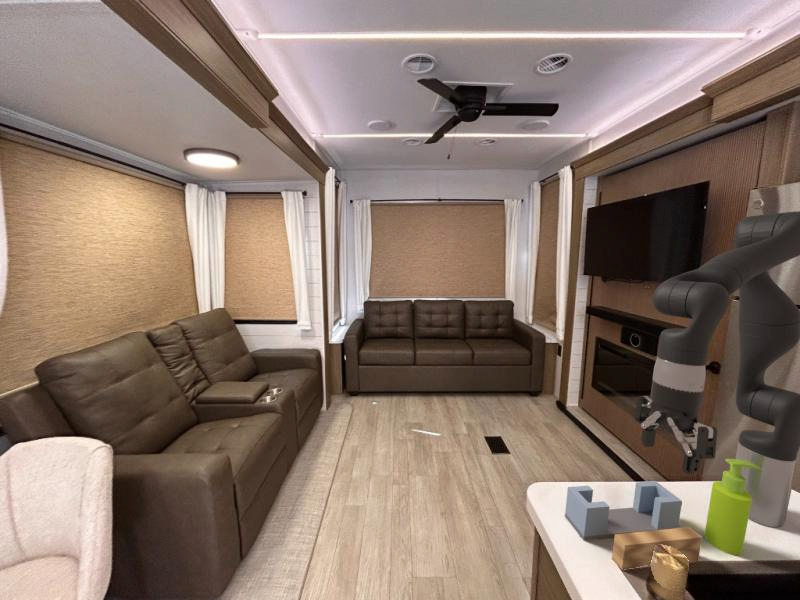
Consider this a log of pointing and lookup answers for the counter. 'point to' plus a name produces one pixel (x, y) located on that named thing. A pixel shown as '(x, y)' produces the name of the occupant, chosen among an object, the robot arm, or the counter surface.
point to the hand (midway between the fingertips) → (666, 458)
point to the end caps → (622, 512)
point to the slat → (640, 546)
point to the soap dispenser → (729, 509)
